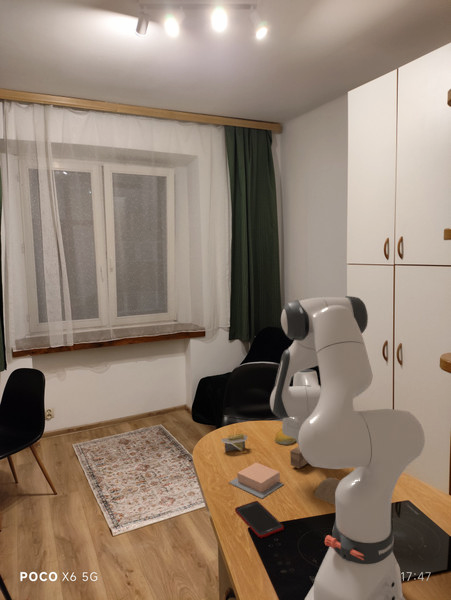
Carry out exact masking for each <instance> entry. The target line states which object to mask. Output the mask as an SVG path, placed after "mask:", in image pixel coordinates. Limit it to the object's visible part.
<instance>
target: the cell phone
mask: <svg viewBox="0 0 451 600" xmlns="http://www.w3.org/2000/svg"><path fill="white" fill-rule="evenodd" d="M234 511H235V513H236V515H238V516H239V518H241V520H242V521H243V522H244V523H245V524H246V525H247V527H249V528H250V530H251V531H252V532H253V533H254V534H255V536H257V537H258V538H259V537H260V539H263V537H264V538H266V537H269V536H271V534H272V535H273V533H274V534H276V532H277V533H278V532H281V530H282V531H283V530H284V525H283V524H282V522H280V521H279V519H277V518H276V517H275V516H274V515H273V514H272V513H271V512H270V511H269V510H268V509H267V508H266V507H265V506H264V505H263V504H262V503H260V502H259V501H258V500H255V501H250V502H247V503H245V504H242V505H239V506H237V507H235V508H234Z"/></svg>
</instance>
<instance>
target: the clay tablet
mask: <svg viewBox="0 0 451 600" xmlns="http://www.w3.org/2000/svg"><path fill="white" fill-rule="evenodd" d="M340 481H341V480H340V479H337V478H334V477H327V478H325V479H324V480H322V481H321V482H320V484H318V486H317V488H316V490H315V491H314V493H313V496H314V497H315V498H316V499H317V498H318V499H320V500H322V501H324V502H327V503H329V504H332V505H334V506H336V503H335V492H336V489H337V486H338V484H339V482H340Z"/></svg>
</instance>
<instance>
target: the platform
mask: <svg viewBox="0 0 451 600" xmlns="http://www.w3.org/2000/svg"><path fill="white" fill-rule="evenodd" d="M247 440H248V436H247V434H244V433H243V432H240V433H239V432H238V433H236V435H235V434H234V433H233V434H232V435H228V437H226V438H221V440H220V441H221V443H224V452H230V451H237V450H239V451H244V449H246V441H247Z"/></svg>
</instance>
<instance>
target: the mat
mask: <svg viewBox="0 0 451 600" xmlns="http://www.w3.org/2000/svg"><path fill="white" fill-rule="evenodd" d="M228 484H230V485H232V486H234V487H236V488H237V489H241V490H242V491H245V492H247V493H249V494H251V495H253V496H256V497H257V498H260V499H261V500H262V499H264V498H265V497H267V496H268V495H270V494H272V493H273V492H275V491H277V489H280V488H281V487H282V486H284V483H283V482H281V481H279V482H277V483H276V484H274V485H273V486H271V487H269V488H268V489H266V490H265V491H263V492H262V493H261V492H259V491H257V490H255V489H253V488H250V487H248V486H246V485H244V484H242V483H240V482H238V476H237V477H236V478H234V479H232V480H230V481H229V482H228Z"/></svg>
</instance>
